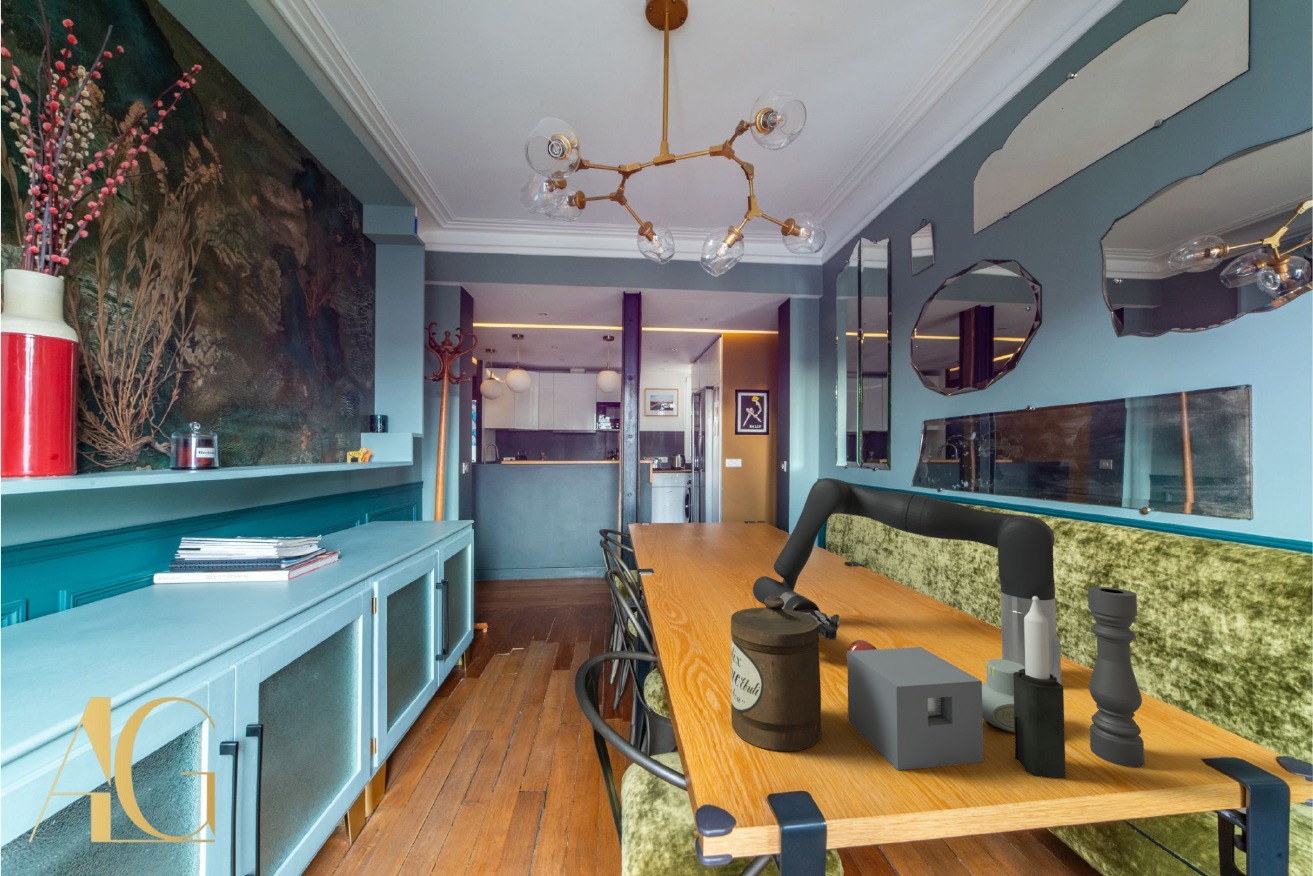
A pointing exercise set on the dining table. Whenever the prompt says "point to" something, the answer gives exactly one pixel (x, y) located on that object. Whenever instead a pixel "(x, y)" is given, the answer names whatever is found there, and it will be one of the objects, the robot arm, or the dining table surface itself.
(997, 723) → the air freshener
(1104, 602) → the candle holder
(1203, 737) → the dining table surface
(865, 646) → the plunger
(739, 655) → the wooden container
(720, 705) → the dining table surface
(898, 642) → the dining table surface
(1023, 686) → the candle
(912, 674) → the housing
